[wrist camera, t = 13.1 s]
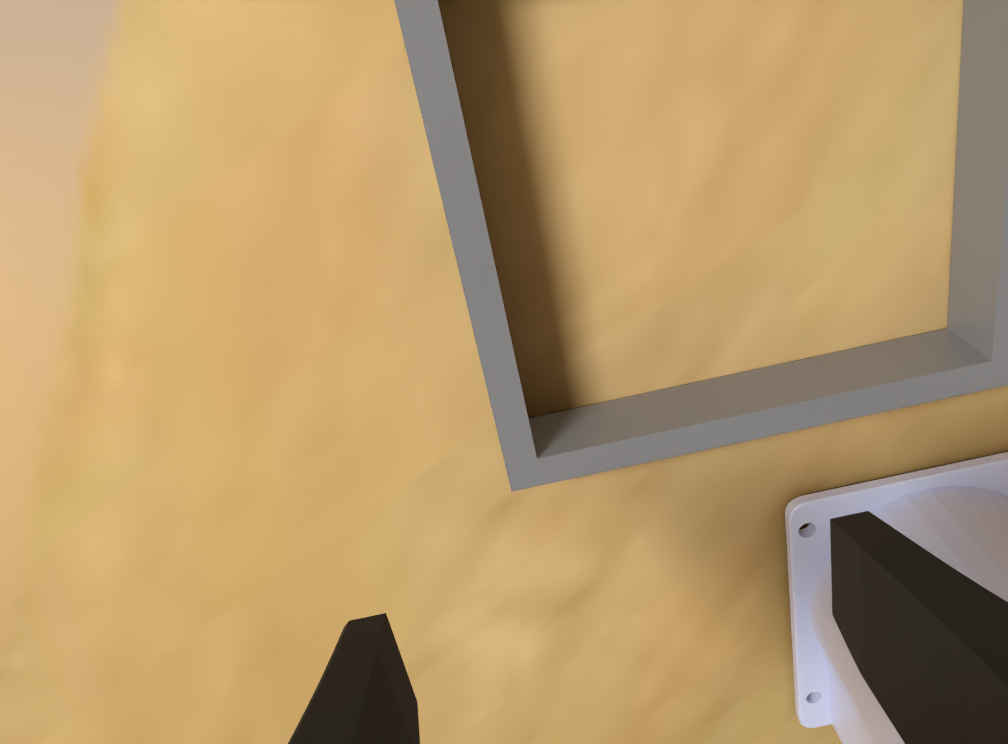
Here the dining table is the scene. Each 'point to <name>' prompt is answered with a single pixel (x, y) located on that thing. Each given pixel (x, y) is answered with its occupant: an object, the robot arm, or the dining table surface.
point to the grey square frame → (765, 391)
